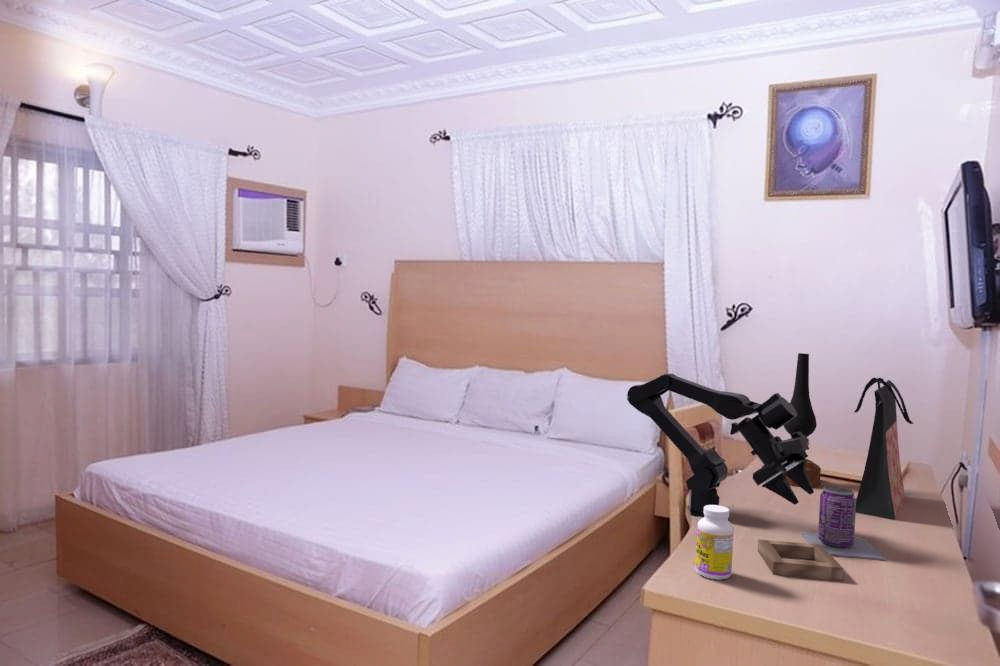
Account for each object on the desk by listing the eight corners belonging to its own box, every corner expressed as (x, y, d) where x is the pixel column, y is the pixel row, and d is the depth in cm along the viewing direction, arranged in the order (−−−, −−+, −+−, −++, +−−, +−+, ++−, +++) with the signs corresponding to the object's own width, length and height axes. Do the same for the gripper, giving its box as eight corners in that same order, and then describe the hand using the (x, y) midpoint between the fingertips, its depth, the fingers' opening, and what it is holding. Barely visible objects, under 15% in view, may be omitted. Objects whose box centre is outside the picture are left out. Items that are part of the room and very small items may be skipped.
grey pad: (819, 554, 139) (819, 552, 139) (800, 533, 152) (800, 532, 152) (885, 560, 138) (885, 558, 138) (860, 538, 150) (860, 537, 150)
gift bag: (855, 490, 194) (862, 371, 193) (912, 499, 186) (920, 376, 184) (837, 512, 170) (845, 378, 169) (901, 525, 162) (910, 383, 160)
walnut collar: (773, 574, 128) (773, 561, 128) (757, 550, 140) (758, 539, 140) (842, 580, 126) (842, 567, 126) (820, 556, 138) (820, 544, 138)
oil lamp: (779, 484, 210) (766, 360, 217) (831, 485, 201) (816, 355, 208) (767, 487, 199) (754, 356, 206) (822, 488, 190) (806, 351, 197)
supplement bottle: (689, 567, 130) (693, 502, 129) (722, 567, 130) (725, 503, 130) (703, 581, 123) (706, 513, 123) (737, 581, 124) (740, 513, 123)
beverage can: (837, 537, 150) (840, 485, 149) (861, 548, 143) (864, 493, 142) (810, 538, 148) (813, 485, 148) (833, 550, 141) (836, 494, 141)
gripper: (771, 429, 145) (818, 491, 139) (803, 415, 158) (847, 472, 152) (733, 454, 151) (777, 515, 145) (767, 439, 165) (809, 494, 158)
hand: (804, 498), depth 150 cm, fingers open, 9 cm apart
